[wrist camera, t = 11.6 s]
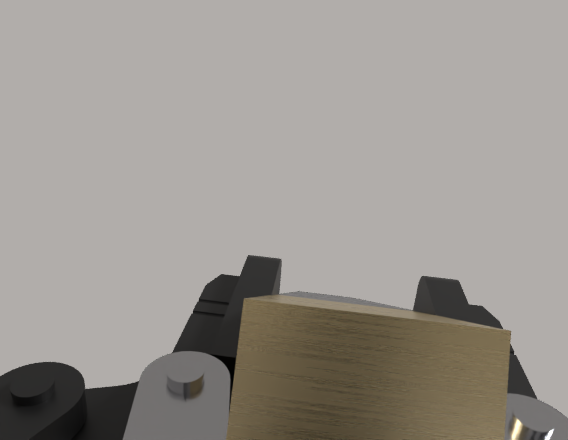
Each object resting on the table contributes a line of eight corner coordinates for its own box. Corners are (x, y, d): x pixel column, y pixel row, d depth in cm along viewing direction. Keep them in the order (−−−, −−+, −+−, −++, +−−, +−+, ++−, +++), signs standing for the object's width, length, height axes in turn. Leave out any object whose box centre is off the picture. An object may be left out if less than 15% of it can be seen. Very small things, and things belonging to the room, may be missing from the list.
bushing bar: (347, 353, 28) (353, 297, 29) (493, 623, 5) (510, 331, 6) (292, 346, 28) (298, 291, 29) (208, 577, 6) (243, 298, 6)
